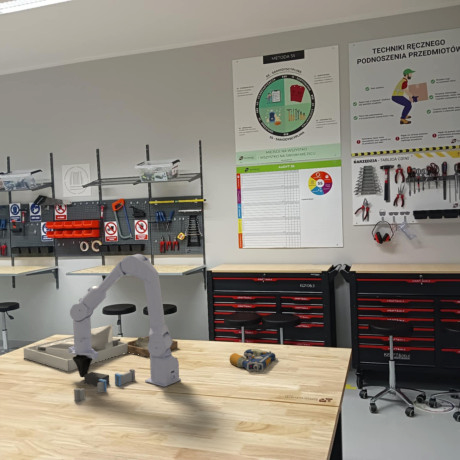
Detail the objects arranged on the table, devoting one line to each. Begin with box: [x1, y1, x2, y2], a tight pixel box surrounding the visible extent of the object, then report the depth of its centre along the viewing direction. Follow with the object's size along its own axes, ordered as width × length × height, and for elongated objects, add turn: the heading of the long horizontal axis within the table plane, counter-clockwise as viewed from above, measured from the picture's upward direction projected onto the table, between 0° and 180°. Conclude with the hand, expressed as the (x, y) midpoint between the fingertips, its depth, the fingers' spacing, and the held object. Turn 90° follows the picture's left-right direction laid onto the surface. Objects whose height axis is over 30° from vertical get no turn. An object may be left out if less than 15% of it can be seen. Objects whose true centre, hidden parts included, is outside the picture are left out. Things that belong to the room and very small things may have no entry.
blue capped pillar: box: [73, 368, 136, 403], centre depth 145 cm, size 3×22×4 cm, turn 143°
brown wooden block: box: [126, 335, 179, 358], centre depth 191 cm, size 17×16×3 cm
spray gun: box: [228, 348, 276, 372], centre depth 169 cm, size 21×4×15 cm
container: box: [36, 324, 121, 360], centre depth 186 cm, size 22×25×12 cm
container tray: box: [23, 335, 128, 372], centre depth 186 cm, size 31×28×4 cm
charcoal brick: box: [83, 371, 110, 387], centre depth 151 cm, size 8×3×3 cm, turn 61°
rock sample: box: [134, 336, 149, 349], centre depth 188 cm, size 10×8×9 cm
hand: (83, 376), depth 156 cm, fingers closed
